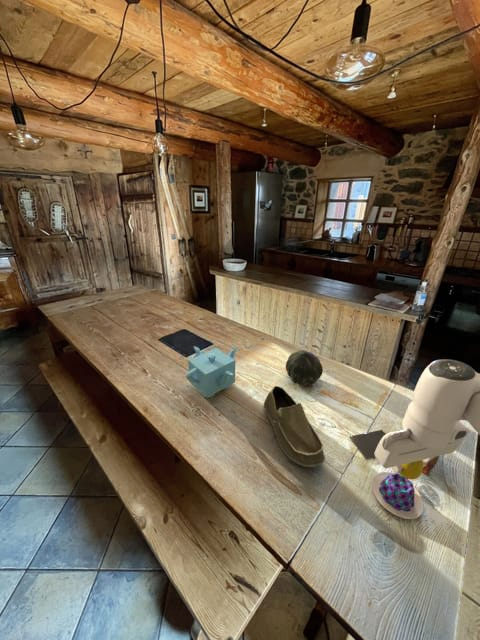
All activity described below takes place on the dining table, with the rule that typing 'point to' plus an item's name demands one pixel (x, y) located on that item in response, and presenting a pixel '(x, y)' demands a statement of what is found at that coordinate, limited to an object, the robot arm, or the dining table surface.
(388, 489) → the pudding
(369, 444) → the slate coaster
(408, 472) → the lemon
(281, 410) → the loafer
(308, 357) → the squash
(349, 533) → the dining table surface
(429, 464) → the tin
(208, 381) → the teal knobbed box
